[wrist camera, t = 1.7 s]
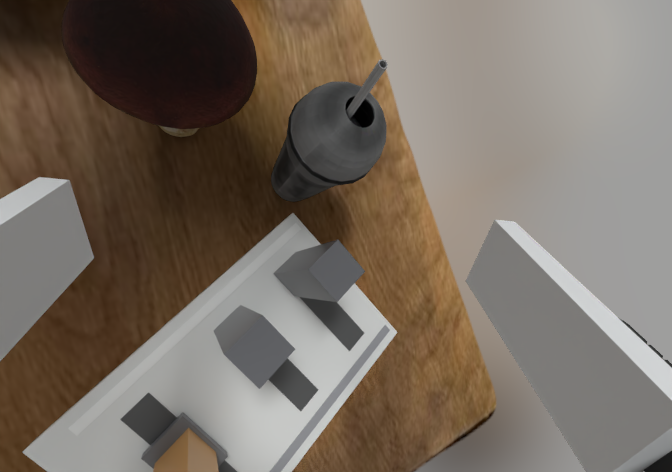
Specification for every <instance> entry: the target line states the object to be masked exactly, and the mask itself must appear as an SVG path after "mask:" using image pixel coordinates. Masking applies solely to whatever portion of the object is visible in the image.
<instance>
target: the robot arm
mask: <svg viewBox="0 0 672 472" xmlns="http://www.w3.org/2000/svg"><path fill="white" fill-rule="evenodd" d="M93 259H94V256H93V253H92V249H91V246H90V243H89V240H88V237H87V234H86V231H85V227H84V224H83V221H82V218H81V215H80V212H79V208H78V205H77V202H76V199H75V196H74V193H73V190H72V186H71V183H70V180H64V179H54V178H43V177H38V178H37V179H35V180H33V181H31V182H30V183H28V184H26V185H24V186H23V187H21V188H19V189H17V190H15V191H14V192H12V193H10V194H8V195H7V196H5V197H3V198H1V199H0V361H1V360H2V359H3V358H4V357H5V356H6V354H7V353H8V352H9V351H10V350H11V349H12V348H13V347H14V346H15V345H16V343H17V342H18V341H19V340H20V339H21V338H22V337H23V336H24V335H25V334H26V332H27V331H28V330H29V329H30V328H31V327H32V326H33V325H34V324H35V323H36V321H37V320H38V319H39V318H40V317H41V316H42V315H43V314H44V313H45V312H46V310H47V309H48V308H49V307H50V306H51V305H52V304H53V303H54V302H55V301H56V299H57V298H58V297H59V296H60V295H61V294H62V293H63V292H64V291H65V290H66V288H67V287H68V286H69V285H70V284H71V283H72V282H73V281H74V280H75V279H76V278H77V276H78V275H79V274H80V273H81V272H82V271H83V270H84V269H85V268H86V267H87V265H88V264H89V263H90V262H91V261H92V260H93ZM466 282H467V284H468V285H469V287H470V289H471V290H472V292H473V293H474V295H475V297H476V298H477V300H478V302H479V303H480V305H481V306H482V308H483V309H484V311H485V312H486V314H487V315H488V317H489V319H490V321H491V322H492V323H493V325H494V327H495V329H496V330H497V332H498V333H499V335H500V336H501V338H502V340H503V341H504V343H505V344H506V346H507V347H508V349H509V351H510V352H511V354H512V355H513V357H514V359H515V360H516V362H517V363H518V365H519V367H520V368H521V370H522V371H523V373H524V375H525V376H526V377H527V379H528V381H529V382H530V384H531V386H532V387H533V389H534V390H535V392H536V394H537V395H538V397H539V398H540V400H541V401H542V403H543V404H544V406H545V408H546V409H547V411H548V412H549V414H550V416H551V417H552V419H553V420H554V422H555V424H556V425H557V427H558V428H559V430H560V431H561V433H562V435H563V436H564V438H565V439H566V441H567V443H568V444H569V446H570V447H571V449H572V451H573V452H574V454H575V455H576V457H577V459H578V460H579V461H580V463H581V465H582V466H583V468H584V470H585V471H586V472H643V471H645V472H672V364H671V363H670V362H669V361H668V360H664V359H663V358H662V357H663V356H662V355H661V354H660V353H659V352H658V351H657V350H656V349H655V348H653V347H652V346H651V345H647V341H646V340H645V339H644V338H643V337H642V336H640V335H639V334H638V333H637V332H636V331H635V330H634V329H633V328H632V327H631V326H630V325H628V324H627V323H626V322H624V321H622V320H621V319H619V318H618V317H617V316H616V315H614V314H613V313H612V312H611V311H610V310H609V309H608V308H607V307H606V306H605V305H604V304H603V303H602V302H601V301H599V300H598V299H597V298H596V297H595V296H594V295H593V294H592V293H591V292H590V291H589V290H588V289H587V288H585V287H584V286H583V285H582V284H581V283H580V282H579V281H578V280H577V279H576V278H575V277H574V276H573V275H571V274H570V273H569V272H568V271H567V270H566V269H565V268H564V267H563V266H562V265H561V264H560V263H559V262H557V260H555V259H554V258H553V257H552V256H551V255H550V254H549V253H548V252H547V251H546V250H545V249H544V248H542V247H541V246H540V245H539V244H538V243H537V242H536V241H535V240H534V239H533V238H532V237H531V236H530V235H529V234H527V233H526V232H525V231H524V230H523V229H522V228H521V227H520V226H519V225H518V224H517V223H516V222H513V221H502V220H494V222H493V224H492V226H491V229H490V231H489V233H488V235H487V237H486V239H485V241H484V243H483V245H482V247H481V250H480V252H479V254H478V256H477V258H476V260H475V262H474V265H473V267H472V269H471V271H470V273H469V275H468V277H467V279H466Z"/></svg>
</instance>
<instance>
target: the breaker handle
mask: <svg viewBox="0 0 672 472" xmlns="http://www.w3.org/2000/svg"><path fill="white" fill-rule="evenodd" d="M227 457H228V455H227V451H225V450H224V449H223V448H222V447H221V446H220V445H219V444H218V443H217V442H215V441H214V440H213V439H212V438H211V437H210V436H209V435H208V434H207V433H205V432H204V431H203V430H202V429H201V428H200V427H199V426H198V425H197V424H195V423H194V422H193V421H192V420H191V419H190V418H189V417H188V416H187V415H185V414H184V413H183V412H182V413H181V414H180V415H179V417H178V418H177V419H176V420H175V421H174V422H173V423H172V424H171V425H170V426H169V427H168V428H167V429H166V430H165V431H164V432H163V433H162V434H161V435H160V436H159V437H158V438H157V439H156V440H155V441H154V442H153V443H152V444H151V445H150V446H149V447H148V448H147V449H146V450H145V451H144V453H143V454H142V457H141V459H142V460H143V461H144V462H146V463H147V464H148V465H149V466H150V467H152V468H153V469H154V470H153V472H219V470H218V467H219V466H220V465H221V464H222V463H223V461H224V460H225V459H226V458H227Z"/></svg>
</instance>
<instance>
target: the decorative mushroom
mask: <svg viewBox="0 0 672 472" xmlns="http://www.w3.org/2000/svg"><path fill="white" fill-rule="evenodd" d="M62 41H63V46H64V49H65V52H66V54H67V57H68V59H69V61H70V63H71V65H72V67H73V68H74V70H75V71H76V72H77V74H78V75H79V76H80V77H81V79H82V80H83V81H84V82H85V83H86V84H87V85H88V86H89V87H90V88H91V89H92V90H93V91H94V93H95V94H97V95H98V96H99V97H101V98H102V99H103V100H105V101H106V102H108V103H109V104H111V105H112V106H114V107H115V108H117V109H119V110H121V111H123V112H125V113H127V114H129V115H131V116H133V117H136V118H138V119H141V120H144V121H146V122H149V123H152V124H155V125H158V126H159V127H160V128H161V129H162V130H163V131H165V132H166V133H168V134H170V135H173V136H177V137H185V136H191V135H193V134H194V133H195V132H196V131H197V130H198V128H203V127H208V126H212V125H216V124H218V123H221V122H223V121H225V120H227V119H228V118H230V117H232V116H233V115H235V114H236V113H237V112H238V111H239V110H240V109H241V108H242V107H243V106H244V105H245V104H246V102H247V101H248V100H249V98H250V96H251V94H252V92H253V89H254V86H255V81H256V75H257V58H256V50H255V46H254V43H253V40H252V37H251V35H250V33H249V30H248V28H247V26H246V24H245V22H244V20H243V18H242V16H241V14H240V13H239V11H238V9H237V8H236V7H235V5H234V4H233V2H232V1H231V0H69V2H68V4H67V7H66V9H65V10H64V15H63V20H62Z"/></svg>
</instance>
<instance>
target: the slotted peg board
mask: <svg viewBox="0 0 672 472" xmlns="http://www.w3.org/2000/svg"><path fill="white" fill-rule="evenodd" d="M364 272H365V271H364V270H363V268H362V267H361V266H360V265H359V264H358V262H357V261H356V260H355V259H354V258H353V257H352V255H351V254H350V253H349V252H348V251H347V250H346V248H345V247H344V246H343V245H342V244H341V243H340V241H339V240H335V241H332V242H328V243H325V244H320V243H319V242H318V241H317V239H316V238H315V237H314V236H313V235H312V234H311V233H310V231H309V230H308V229H307V228H306V227H305V226H304V225H303V223H302V222H301V221H300V220H299V219H298V218H297V217H296V215H295V214H294V213H292V214H291V215H289V216H288V217H287V218H285V219H284V220H283V221H282V222H281V223H280V224H279V225H278V226H276V227H275V228H274V229H273V230H272V231H271V232H270V233H268V234H267V235H266V236H265V237H264V238H263V239H262V240H261V241H259V242H258V243H257V244H256V245H255V246H254V247H253V248H251V249H250V250H249V251H248V252H247V253H246V254H245V255H243V256H242V257H241V258H240V259H239V260H238V261H237V262H236V263H234V264H233V265H232V266H231V267H230V268H229V269H228V270H226V271H225V272H224V273H223V274H222V275H221V276H220V277H219V278H217V279H216V280H215V281H214V282H213V283H212V284H211V285H209V286H208V287H207V288H206V289H205V290H204V291H203V292H202V293H200V294H199V295H198V296H197V297H196V298H195V299H194V300H192V301H191V302H190V303H189V304H188V305H187V306H186V307H184V308H183V309H182V310H181V311H180V312H179V313H178V314H177V315H175V316H174V317H173V318H172V319H171V320H170V321H169V322H167V323H166V324H165V325H164V326H163V327H162V328H161V329H160V330H158V331H157V332H156V333H155V334H154V335H153V336H152V337H150V338H149V339H148V340H147V341H146V342H145V343H144V344H143V345H141V346H140V347H139V348H138V349H137V350H136V351H135V352H133V353H132V354H131V355H130V356H129V357H128V358H127V359H125V360H124V361H123V362H122V363H121V364H120V365H119V366H118V367H116V368H115V369H114V370H113V371H112V372H111V373H110V374H108V375H107V376H106V377H105V378H104V379H103V380H102V381H101V382H99V383H98V384H97V385H96V386H95V387H94V388H93V389H91V390H90V391H89V392H88V393H87V394H86V395H85V396H84V397H82V398H81V399H80V400H79V401H78V402H77V403H76V404H74V405H73V406H72V407H71V408H70V409H69V410H68V411H66V412H65V413H64V414H63V415H62V416H61V417H60V418H59V419H57V420H56V421H55V422H54V423H53V424H52V425H51V426H49V427H48V428H47V429H46V430H45V431H44V432H43V433H42V434H40V435H39V436H38V437H37V438H36V439H35V440H34V441H33V442H32V443H31V444H30V445H29V446H28V447H27V448H26V449H25V450H24V451H23V453H24V454H25V455H26V456H28V457H29V458H30V459H32V460H33V461H34V462H35V463H37V464H38V465H39V466H41V467H42V468H43V469H44V470H46V471H47V472H153V470H154V469H153V468H152V467H150V466H149V465H148V464H147V463H146V462H144V461H143V460H142V459H141V457H142V454H143V453H144V451H145V450H146V449H147V448H148V447H149V446H150V445H151V444H152V443H153V442H154V441H155V440H156V439H157V438H158V437H159V436H160V435H161V434H162V433H163V432H164V431H165V430H166V429H167V428H168V427H169V426H170V425H171V424H172V423H173V422H174V421H175V420H176V419H177V418H178V417H179V415H180V414H181V413H182V412H183V413H184V414H185V415H187V416H188V417H189V418H190V419H191V420H192V421H193V422H194V423H195V424H197V425H198V426H199V427H200V428H201V429H202V430H203V431H204V432H205V433H207V434H208V435H209V436H210V437H211V438H212V439H213V440H214V441H215V442H217V443H218V444H219V445H220V446H221V447H222V448H223V449H224V450H225V451H227V455H228V457H227V458H226V459H225V460H224V461H223V463H222V464H221V465H220V466H219V467H218V470H219V472H292V471H293V469H294V468H295V467H296V465H297V464H298V463H299V462H300V460H301V459H302V458H303V456H304V455H305V454H306V452H307V451H308V450H309V448H310V447H311V446H312V444H313V443H314V442H315V440H316V439H317V438H318V436H319V435H320V434H321V432H322V431H323V430H324V429H325V427H326V426H327V425H328V423H329V422H330V421H331V419H332V418H333V417H334V415H335V414H336V413H337V411H338V410H339V409H340V407H341V406H342V405H343V403H344V402H345V401H346V399H347V398H348V397H349V396H350V394H351V393H352V392H353V390H354V389H355V388H356V386H357V385H358V384H359V382H360V381H361V380H362V378H363V377H364V376H365V374H366V373H367V372H368V370H369V369H370V368H371V366H372V365H373V364H374V363H375V361H376V360H377V359H378V357H379V356H380V355H381V353H382V352H383V351H384V349H385V348H386V347H387V345H388V344H389V343H390V341H391V340H392V339H393V337H394V336H395V335H396V333H397V331H396V330H395V329H394V328H393V327H392V326H391V324H390V323H389V322H388V321H387V320H386V319H385V317H384V316H383V315H382V314H381V313H380V312H379V311H378V309H377V308H376V307H375V306H374V305H373V304H372V303H371V301H370V300H369V299H368V298H367V297H366V296H365V295H364V293H363V292H362V291H361V290H360V289H359V288H358V287H357V285H356V284H355V282H356V281H357V280H358V279H359V277H360V276H361V275H362V274H363V273H364Z"/></svg>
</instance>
